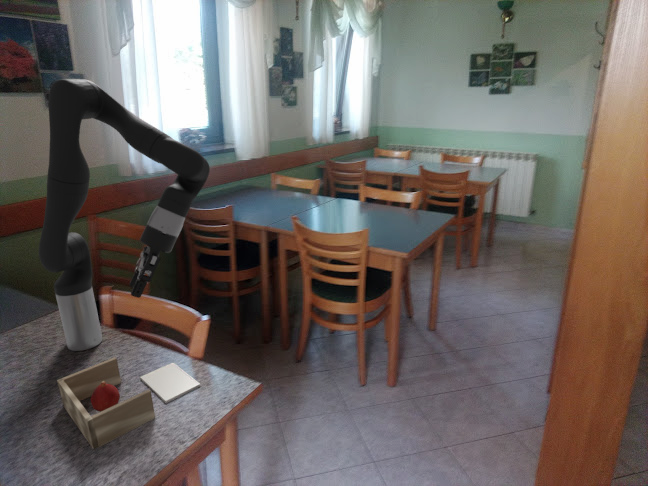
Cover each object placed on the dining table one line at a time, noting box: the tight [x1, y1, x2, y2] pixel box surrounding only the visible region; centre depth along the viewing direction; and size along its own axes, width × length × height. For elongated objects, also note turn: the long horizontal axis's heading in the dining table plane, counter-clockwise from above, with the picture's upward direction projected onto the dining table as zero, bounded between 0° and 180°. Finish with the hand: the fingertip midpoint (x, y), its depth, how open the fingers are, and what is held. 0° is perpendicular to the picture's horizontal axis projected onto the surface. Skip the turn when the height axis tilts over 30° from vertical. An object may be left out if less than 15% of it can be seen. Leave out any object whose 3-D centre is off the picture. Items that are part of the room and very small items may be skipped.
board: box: [139, 362, 201, 404], centre depth 110 cm, size 14×9×1 cm, turn 45°
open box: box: [56, 356, 156, 450], centre depth 99 cm, size 20×13×7 cm, turn 45°
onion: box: [90, 381, 121, 413], centre depth 99 cm, size 6×6×8 cm
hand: (134, 291), depth 103 cm, fingers open, 8 cm apart
